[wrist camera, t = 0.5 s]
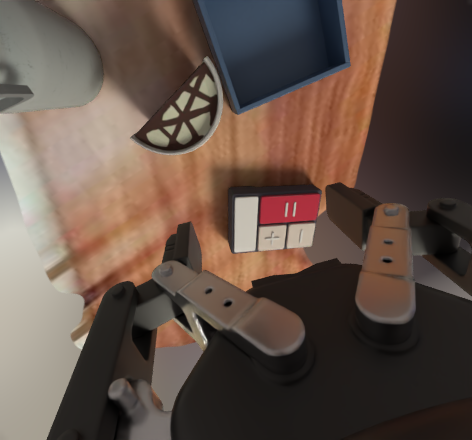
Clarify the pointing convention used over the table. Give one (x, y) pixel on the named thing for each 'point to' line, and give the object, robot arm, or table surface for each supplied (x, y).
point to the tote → (273, 45)
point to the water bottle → (44, 60)
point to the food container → (185, 115)
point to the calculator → (272, 217)
